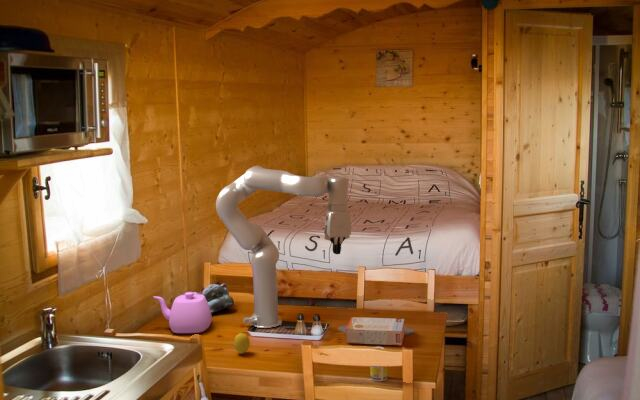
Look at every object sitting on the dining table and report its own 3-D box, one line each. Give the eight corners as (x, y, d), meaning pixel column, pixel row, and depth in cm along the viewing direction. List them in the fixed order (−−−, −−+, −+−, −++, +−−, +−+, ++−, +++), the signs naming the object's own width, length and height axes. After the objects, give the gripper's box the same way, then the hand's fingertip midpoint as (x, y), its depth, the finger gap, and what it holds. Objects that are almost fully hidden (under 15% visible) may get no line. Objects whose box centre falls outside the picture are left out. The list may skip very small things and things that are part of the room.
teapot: (216, 319, 292) (214, 284, 289) (208, 336, 271) (206, 298, 269) (162, 320, 292) (160, 285, 290) (149, 337, 271) (147, 299, 269)
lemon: (234, 351, 253) (233, 330, 252) (250, 350, 254) (249, 329, 252) (234, 357, 248) (233, 335, 247) (249, 356, 248) (249, 334, 247)
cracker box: (345, 344, 258) (402, 346, 253) (345, 328, 257) (402, 330, 253) (351, 331, 271) (405, 333, 267) (351, 316, 270) (405, 318, 266)
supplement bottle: (384, 374, 229) (384, 344, 228) (389, 381, 224) (389, 350, 222) (368, 376, 228) (368, 346, 227) (372, 382, 223) (372, 352, 221)
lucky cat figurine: (200, 317, 294) (190, 286, 297) (205, 320, 306) (195, 290, 309) (233, 305, 295) (224, 274, 298) (237, 308, 307) (228, 279, 310)
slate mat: (364, 343, 258) (364, 342, 258) (337, 328, 276) (337, 327, 276) (414, 333, 269) (414, 331, 269) (386, 319, 286) (386, 317, 286)
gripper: (325, 210, 267) (324, 257, 270) (359, 208, 274) (357, 254, 276) (316, 207, 274) (315, 253, 276) (349, 205, 280) (348, 250, 283)
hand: (336, 253), depth 276 cm, fingers closed
